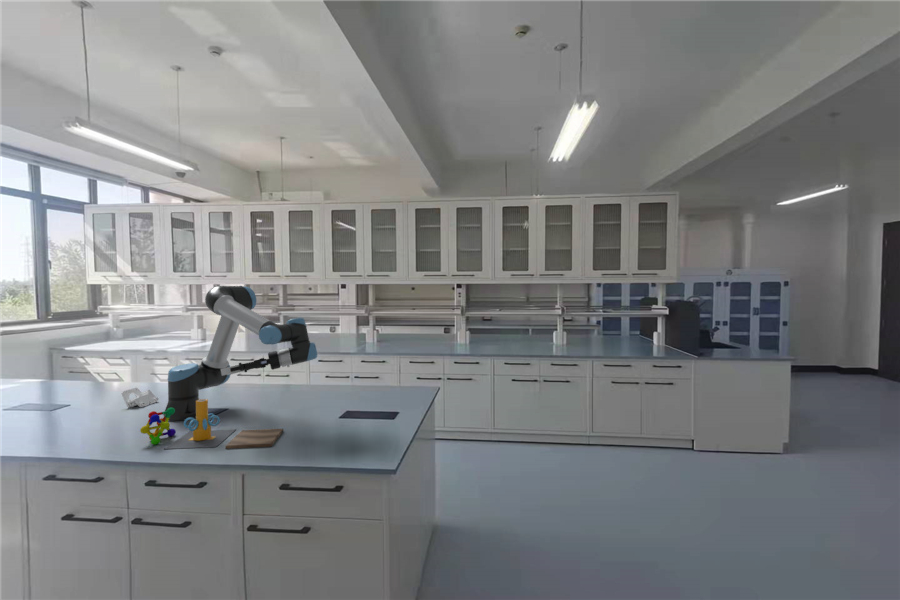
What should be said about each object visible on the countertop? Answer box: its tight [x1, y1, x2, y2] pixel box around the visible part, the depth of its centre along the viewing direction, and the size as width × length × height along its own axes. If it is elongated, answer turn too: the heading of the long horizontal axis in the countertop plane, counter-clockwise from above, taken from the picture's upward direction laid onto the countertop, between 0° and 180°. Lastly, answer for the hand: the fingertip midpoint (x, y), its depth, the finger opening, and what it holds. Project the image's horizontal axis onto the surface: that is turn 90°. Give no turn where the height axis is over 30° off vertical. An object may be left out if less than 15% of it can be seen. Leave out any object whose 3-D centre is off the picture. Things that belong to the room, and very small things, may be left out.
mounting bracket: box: [121, 387, 160, 409], centre depth 198 cm, size 12×6×11 cm, turn 177°
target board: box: [225, 428, 284, 450], centre depth 153 cm, size 16×16×1 cm
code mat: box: [163, 429, 236, 450], centre depth 153 cm, size 18×18×1 cm
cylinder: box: [183, 398, 221, 441], centre depth 153 cm, size 12×10×15 cm
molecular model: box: [140, 408, 177, 445], centre depth 152 cm, size 12×7×12 cm, turn 0°
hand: (223, 372), depth 159 cm, fingers open, 13 cm apart
